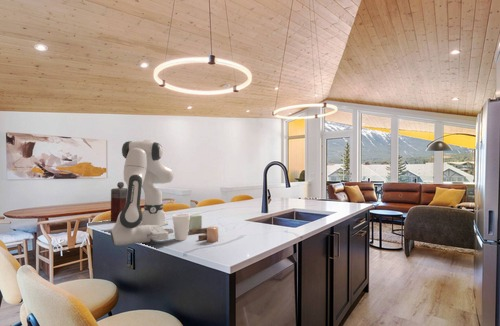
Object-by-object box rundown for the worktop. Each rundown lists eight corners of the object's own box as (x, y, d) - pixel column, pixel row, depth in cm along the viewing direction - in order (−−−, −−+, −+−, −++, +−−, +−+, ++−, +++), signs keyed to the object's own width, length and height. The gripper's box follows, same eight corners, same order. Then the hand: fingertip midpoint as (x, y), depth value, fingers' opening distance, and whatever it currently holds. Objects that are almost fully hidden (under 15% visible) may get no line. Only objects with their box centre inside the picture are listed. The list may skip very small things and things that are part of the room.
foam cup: (184, 241, 147) (185, 217, 147) (169, 240, 149) (169, 216, 149) (192, 237, 156) (193, 214, 156) (177, 236, 158) (178, 213, 159)
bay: (199, 240, 150) (199, 235, 150) (189, 234, 164) (189, 229, 164) (218, 237, 155) (218, 233, 155) (206, 231, 169) (207, 227, 169)
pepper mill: (117, 218, 209) (118, 181, 209) (129, 219, 205) (130, 181, 205) (108, 221, 201) (108, 182, 201) (120, 222, 197) (120, 182, 197)
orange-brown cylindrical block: (206, 239, 151) (206, 226, 151) (217, 239, 153) (217, 226, 153) (207, 242, 145) (207, 229, 146) (219, 242, 147) (219, 228, 147)
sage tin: (188, 231, 170) (188, 215, 171) (197, 230, 174) (198, 214, 174) (191, 233, 165) (192, 216, 165) (201, 232, 168) (201, 215, 169)
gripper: (149, 231, 135) (178, 228, 142) (142, 224, 152) (167, 221, 159) (149, 245, 134) (178, 241, 142) (142, 235, 152) (167, 232, 159)
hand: (172, 230), depth 151 cm, fingers closed, pressing on foam cup
